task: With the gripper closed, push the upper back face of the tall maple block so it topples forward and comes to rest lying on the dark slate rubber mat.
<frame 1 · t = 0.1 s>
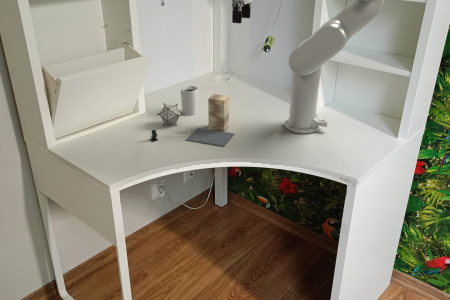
hand: (241, 20, 151), 37 cm above the table, tool pointing down, fingers open, 9 cm apart
white and black cylinder: (190, 113, 172), on the table
maple block: (218, 128, 159), on the table
slate mat: (210, 137, 152), on the table
game die: (170, 124, 162), on the table
sculpture: (152, 141, 151), on the table
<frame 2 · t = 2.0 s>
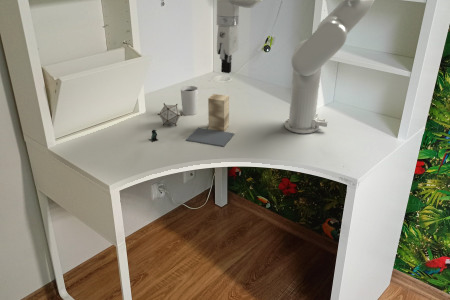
hand: (226, 72, 158), 18 cm above the table, tool pointing down, fingers closed
nothing on the table moved.
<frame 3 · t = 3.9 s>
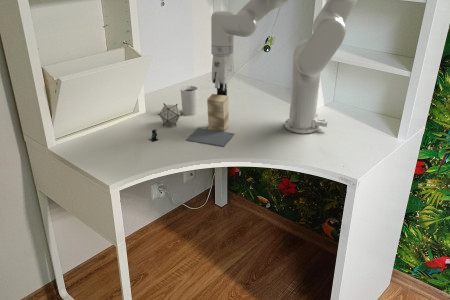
hand: (221, 99, 158), 10 cm above the table, tool pointing down, fingers closed
maple block: (218, 127, 159), on the table, touching gripper
everything else where it was.
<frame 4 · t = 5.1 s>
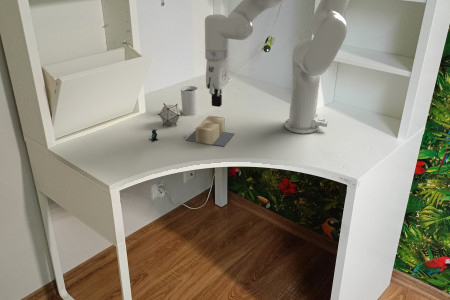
hand: (216, 105, 153), 10 cm above the table, tool pointing down, fingers closed
maple block: (216, 122, 156), point 3 cm above the table, tilted 90°, touching slate mat
everything else where it was.
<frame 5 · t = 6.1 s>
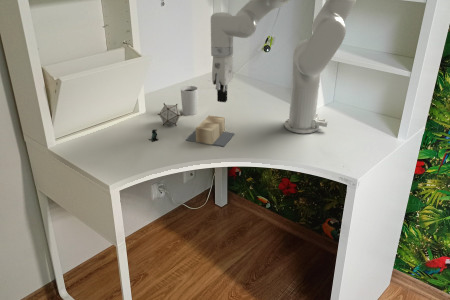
hand: (222, 101, 157), 9 cm above the table, tool pointing down, fingers closed
nothing on the table moved.
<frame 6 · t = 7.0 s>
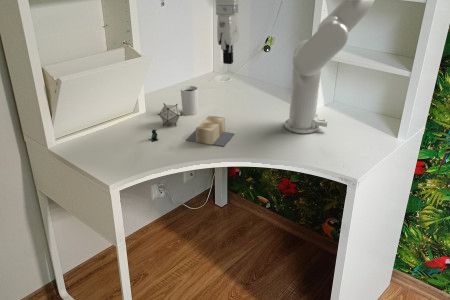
hand: (228, 63, 155), 22 cm above the table, tool pointing down, fingers closed
nothing on the table moved.
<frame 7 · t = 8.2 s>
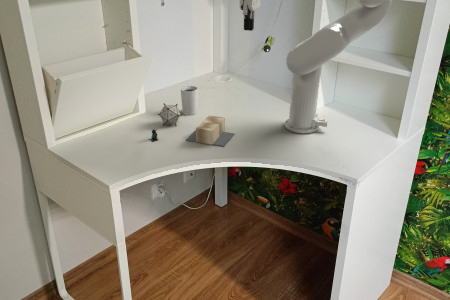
hand: (248, 29, 154), 33 cm above the table, tool pointing down, fingers closed
nothing on the table moved.
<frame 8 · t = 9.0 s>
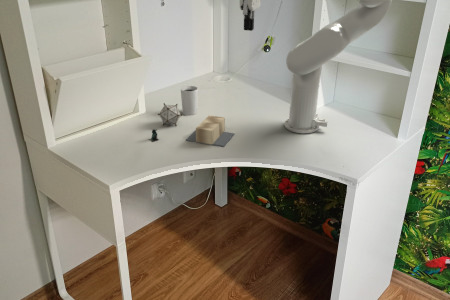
hand: (248, 29, 154), 33 cm above the table, tool pointing down, fingers closed
nothing on the table moved.
at the end: maple block tilted 90°; maple block touching slate mat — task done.
